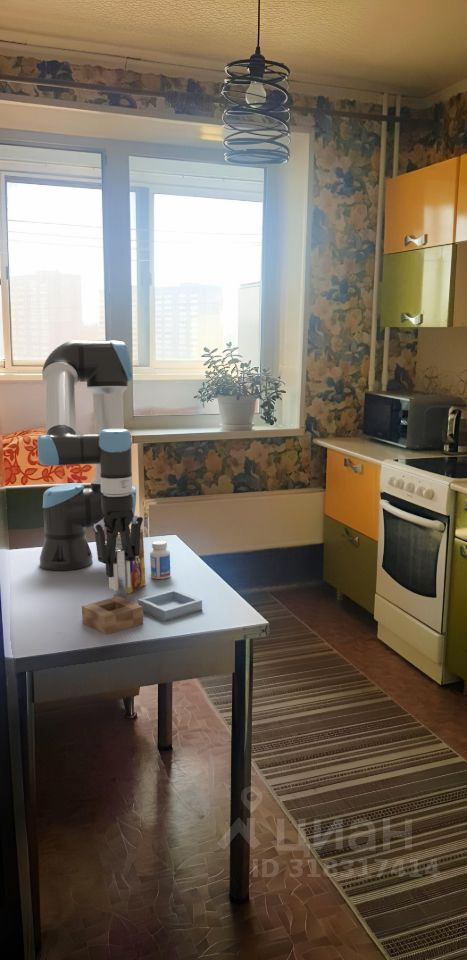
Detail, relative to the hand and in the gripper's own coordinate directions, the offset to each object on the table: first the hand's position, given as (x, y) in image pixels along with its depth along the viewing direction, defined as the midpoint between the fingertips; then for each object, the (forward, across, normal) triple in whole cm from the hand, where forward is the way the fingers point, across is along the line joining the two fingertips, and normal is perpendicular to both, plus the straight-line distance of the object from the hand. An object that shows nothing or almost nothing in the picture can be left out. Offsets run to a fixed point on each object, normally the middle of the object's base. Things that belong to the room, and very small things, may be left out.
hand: (119, 587), depth 181 cm
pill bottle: (+5, +21, +12) cm, 25 cm away
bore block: (+5, -8, -9) cm, 13 cm away
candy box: (+5, +9, +9) cm, 14 cm away
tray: (+5, +7, -11) cm, 14 cm away
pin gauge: (+5, 0, 0) cm, 5 cm away
